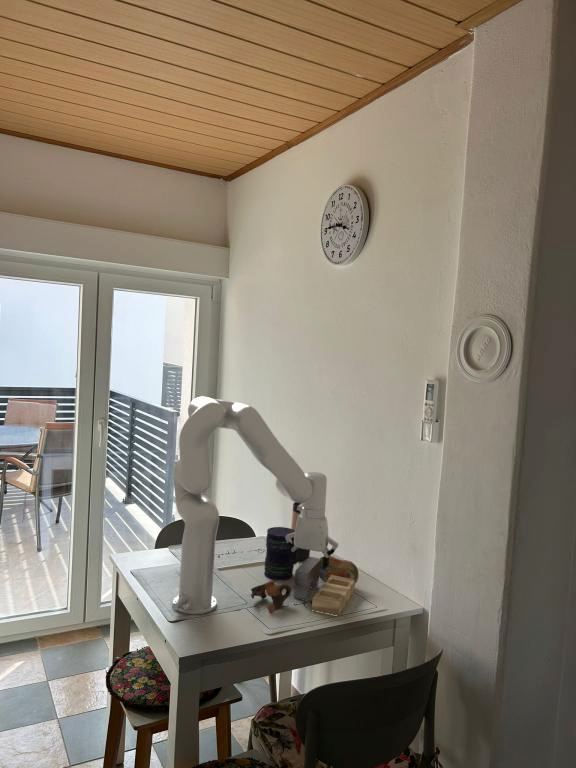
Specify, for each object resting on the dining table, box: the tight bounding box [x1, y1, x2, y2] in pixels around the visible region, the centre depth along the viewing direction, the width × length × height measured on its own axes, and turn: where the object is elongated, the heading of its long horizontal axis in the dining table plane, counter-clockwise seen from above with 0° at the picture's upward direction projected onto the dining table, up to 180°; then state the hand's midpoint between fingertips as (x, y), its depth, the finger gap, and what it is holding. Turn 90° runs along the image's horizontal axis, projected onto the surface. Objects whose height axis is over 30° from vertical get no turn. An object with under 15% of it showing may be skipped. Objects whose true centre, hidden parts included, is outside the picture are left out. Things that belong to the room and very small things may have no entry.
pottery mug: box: [250, 580, 292, 614], centre depth 174 cm, size 12×10×8 cm
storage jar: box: [263, 526, 295, 581], centre depth 197 cm, size 10×10×15 cm
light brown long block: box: [311, 575, 356, 616], centre depth 180 cm, size 20×8×4 cm, turn 160°
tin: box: [319, 555, 359, 584], centre depth 194 cm, size 15×3×8 cm, turn 54°
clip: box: [293, 556, 321, 601], centre depth 185 cm, size 14×4×9 cm, turn 160°
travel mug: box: [290, 502, 311, 562], centre depth 215 cm, size 8×8×20 cm
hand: (310, 565), depth 185 cm, fingers open, 9 cm apart
